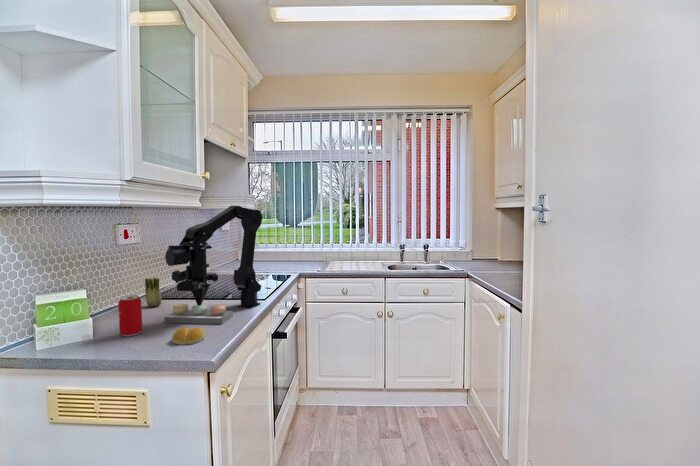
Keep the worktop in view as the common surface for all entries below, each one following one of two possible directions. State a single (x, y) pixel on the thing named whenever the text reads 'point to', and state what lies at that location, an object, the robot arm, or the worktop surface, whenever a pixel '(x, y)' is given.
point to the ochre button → (180, 308)
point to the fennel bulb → (152, 292)
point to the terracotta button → (218, 309)
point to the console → (198, 317)
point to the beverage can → (130, 315)
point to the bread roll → (188, 336)
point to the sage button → (199, 309)
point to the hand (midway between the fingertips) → (199, 305)
